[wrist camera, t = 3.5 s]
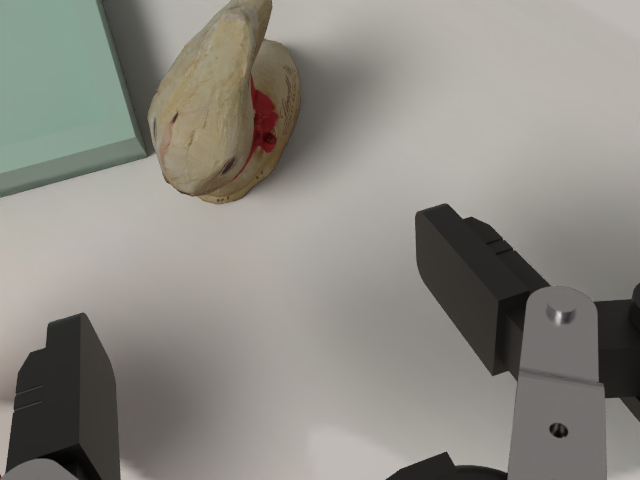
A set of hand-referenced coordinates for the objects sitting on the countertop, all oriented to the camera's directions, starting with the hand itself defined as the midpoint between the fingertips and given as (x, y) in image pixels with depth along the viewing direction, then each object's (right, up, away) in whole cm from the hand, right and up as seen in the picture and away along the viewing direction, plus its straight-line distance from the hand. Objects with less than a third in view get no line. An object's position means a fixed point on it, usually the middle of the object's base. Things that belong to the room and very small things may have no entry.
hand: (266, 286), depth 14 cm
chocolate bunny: (-2, +6, +12) cm, 14 cm away
